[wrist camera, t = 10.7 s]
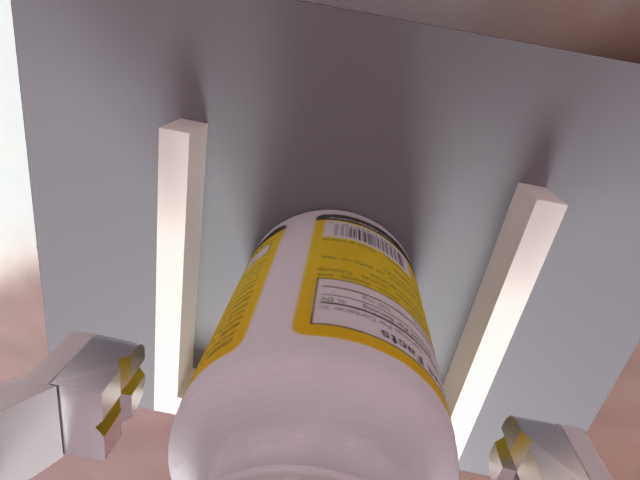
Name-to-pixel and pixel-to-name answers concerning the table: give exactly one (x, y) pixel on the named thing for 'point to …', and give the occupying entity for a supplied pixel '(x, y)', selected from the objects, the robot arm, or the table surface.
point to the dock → (337, 185)
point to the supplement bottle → (318, 366)
